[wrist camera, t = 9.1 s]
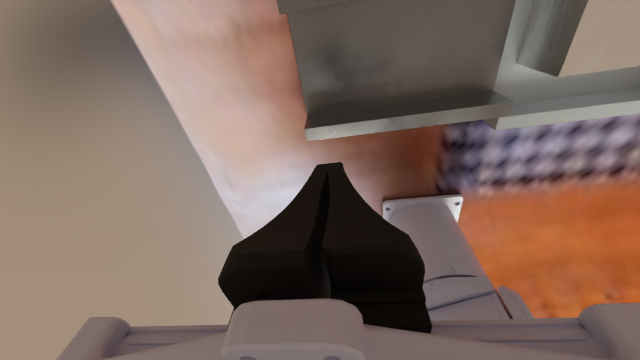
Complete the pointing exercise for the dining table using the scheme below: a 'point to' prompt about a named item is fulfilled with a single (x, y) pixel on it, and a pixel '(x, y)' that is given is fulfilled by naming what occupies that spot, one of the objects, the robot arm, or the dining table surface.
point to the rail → (397, 62)
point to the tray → (558, 87)
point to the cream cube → (581, 36)
